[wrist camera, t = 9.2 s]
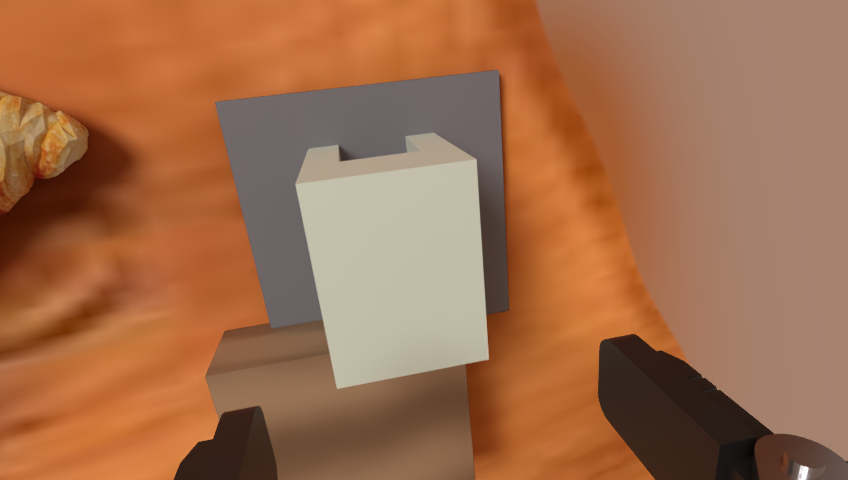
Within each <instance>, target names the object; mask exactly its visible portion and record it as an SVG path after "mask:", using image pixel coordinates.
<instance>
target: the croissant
mask: <svg viewBox="0 0 848 480" xmlns="http://www.w3.org/2000/svg"><path fill="white" fill-rule="evenodd" d="M88 136H89V133H88V131H87V128H86V127H84V126H83V125H82V124H81V123H79V122H78V121H77V120H76V119H74V118H72V117H71V116H69V115H67V114H66V113H64V112H62V111H61V110H60V111H57V112H54V111H53V110H51V109H50V108H49V107H47V106H45V105H44V104H42V103H39V102H35V101H31V100H28V99H26V98H24V97H19V96H13V95H10V94H8V93H5V92H2V91H0V215H3V214H5V213H7V212H8V211H9V210H10V209H11V208H12V207H13V205H14V204H16V203H17V201H18V200H19V199H20V197H22V196H23V195H25V194H26V193H28V192H29V189H30V188H31V187H32V186H33V183H34V180H36V179H48V178H52V177H55V176H57V175H59V174H60V173H62V172H63V171H64V170H65V169H66V168H67V167H68V166H69V165H71V164H72V163H73V162H74V161H76V160H79V159H80V158H81V157H82V156H83V155H84V153H85V152H86V151H87V149H88V142H87V140H88Z"/></svg>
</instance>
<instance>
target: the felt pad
mask: <svg viewBox="0 0 848 480" xmlns="http://www.w3.org/2000/svg"><path fill="white" fill-rule="evenodd" d="M215 104H216V108H217V112H218V116H219V120H220V124H221V128H222V132H223V136H224V140H225V144H226V148H227V152H228V156H229V160H230V164H231V168H232V172H233V176H234V180H235V184H236V188H237V192H238V196H239V201H240V205H241V209H242V213H243V217H244V221H245V225H246V229H247V233H248V237H249V241H250V245H251V249H252V253H253V257H254V261H255V265H256V269H257V273H258V277H259V281H260V285H261V289H262V293H263V297H264V301H265V305H266V309H267V313H268V317H269V321H270V325H271V328H277V327H282V326H288V325H294V324H300V323H305V322H311V321H317V320H323V318H322V313H321V308H320V303H319V298H318V293H317V288H316V283H315V279H314V274H313V269H312V264H311V259H310V254H309V249H308V244H307V239H306V234H305V229H304V224H303V220H302V215H301V210H300V205H299V200H298V195H297V190H296V185H295V184H296V181H297V178H298V176H299V173H300V170H301V167H302V165H303V162H304V159H305V157H306V154H307V151H308V149H310V148H318V147H325V146H333V145H339V151H340V157H341V161H348V160H356V159H363V158H371V157H378V156H386V155H393V154H401V153H407V147H406V139H405V136H411V135H419V134H427V133H435V134H437V135H438V136H440V137H442V138H443V139H445V140H446V141H448V142H450V143H451V144H453V145H454V146H456V147H458V148H459V149H461V150H462V151H464V152H466V153H467V154H469V155H470V156H472V157H474V158H475V159H477V176H478V192H479V208H480V224H481V240H482V256H483V272H484V288H485V304H486V315H487V314H493V313H498V312H504V311H509V299H508V275H507V252H506V228H505V204H504V181H503V157H502V134H501V110H500V86H499V70H493V71H484V72H475V73H467V74H458V75H449V76H440V77H431V78H422V79H413V80H405V81H396V82H387V83H378V84H369V85H360V86H351V87H342V88H334V89H325V90H316V91H307V92H298V93H289V94H280V95H272V96H263V97H254V98H245V99H236V100H227V101H218V102H215Z"/></svg>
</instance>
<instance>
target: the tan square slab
mask: <svg viewBox="0 0 848 480" xmlns="http://www.w3.org/2000/svg"><path fill="white" fill-rule="evenodd" d="M205 377H206V381H207V384H208V387H209V390H210V393H211V396H212V399H213V402H214V406H215V409H216V412H217V415H218V418H219V420H220V418H221V415H222V414H223V413H224V412H228V411H233V410H238V409H243V408H249V407H254V406H260V407H261V409H262V411H263V414H264V418H265V422H266V425H267V429H268V433H269V437H270V440H271V444H272V448H273V452H274V456H275V460H276V465H277V475H278V480H475V472H474V460H473V448H472V436H471V424H470V412H469V400H468V388H467V376H466V364H463V365H458V366H453V367H448V368H443V369H437V370H432V371H427V372H422V373H417V374H412V375H407V376H401V377H396V378H391V379H386V380H381V381H376V382H370V383H365V384H360V385H355V386H350V387H345V388H340V389H337V387H336V382H335V377H334V372H333V367H332V362H331V357H330V352H329V347H328V342H327V338H326V333H325V328H324V323H323V320H317V321H311V322H305V323H300V324H294V325H288V326H282V327H277V328H271V325H270V323H269V324H263V325H257V326H251V327H246V328H240V329H234V330H228V331H225V332H224V334H223V336H222V339H221V341H220V343H219V346H218V348H217V350H216V353H215V355H214V357H213V359H212V362H211V364H210V366H209V369H208V371H207V373H206V376H205Z"/></svg>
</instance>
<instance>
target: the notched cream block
mask: <svg viewBox="0 0 848 480" xmlns="http://www.w3.org/2000/svg"><path fill="white" fill-rule="evenodd" d="M405 139H406V147H407V153H401V154H393V155H386V156H378V157H371V158H363V159H356V160H348V161H341V157H340V151H339V145H333V146H325V147H318V148H310V149H308V151H307V154H306V157H305V159H304V162H303V165H302V167H301V170H300V173H299V176H298V178H297V181H296V184H295V185H296V190H297V195H298V200H299V205H300V210H301V215H302V220H303V224H304V229H305V234H306V239H307V244H308V249H309V254H310V259H311V264H312V269H313V274H314V279H315V283H316V288H317V293H318V298H319V303H320V308H321V313H322V318H323V323H324V328H325V333H326V338H327V342H328V347H329V352H330V357H331V362H332V367H333V372H334V377H335V382H336V387H337V389H340V388H345V387H350V386H355V385H360V384H365V383H370V382H376V381H381V380H386V379H391V378H396V377H401V376H407V375H412V374H417V373H422V372H427V371H432V370H437V369H443V368H448V367H453V366H458V365H463V364H468V363H473V362H479V361H484V360H489V352H488V336H487V320H486V304H485V288H484V272H483V256H482V240H481V224H480V208H479V192H478V176H477V159H475V158H474V157H472V156H470V155H469V154H467V153H466V152H464V151H462V150H461V149H459V148H458V147H456V146H454V145H453V144H451V143H450V142H448V141H446V140H445V139H443V138H442V137H440V136H438V135H437V134H435V133H427V134H419V135H411V136H405Z"/></svg>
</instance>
